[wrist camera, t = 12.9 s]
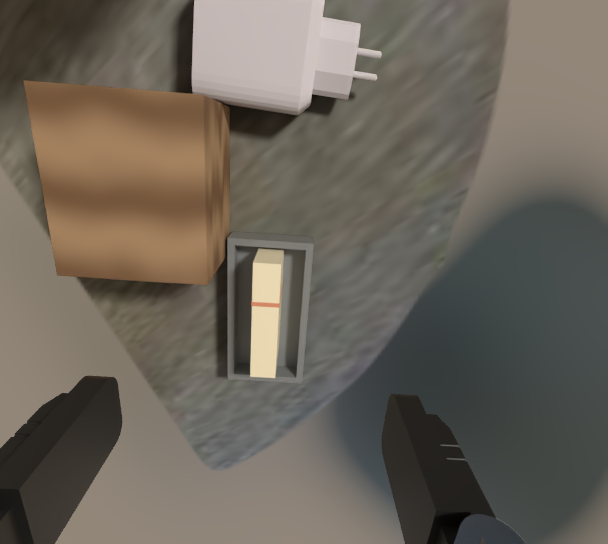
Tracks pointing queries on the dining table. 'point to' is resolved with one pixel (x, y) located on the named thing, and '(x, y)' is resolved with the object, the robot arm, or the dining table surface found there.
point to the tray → (292, 303)
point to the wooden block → (133, 181)
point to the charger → (273, 53)
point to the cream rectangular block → (266, 311)
